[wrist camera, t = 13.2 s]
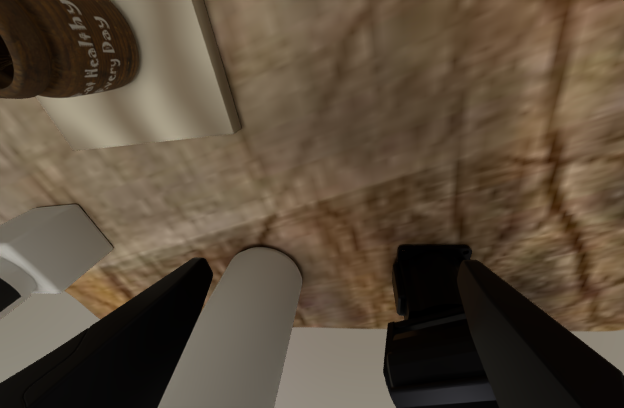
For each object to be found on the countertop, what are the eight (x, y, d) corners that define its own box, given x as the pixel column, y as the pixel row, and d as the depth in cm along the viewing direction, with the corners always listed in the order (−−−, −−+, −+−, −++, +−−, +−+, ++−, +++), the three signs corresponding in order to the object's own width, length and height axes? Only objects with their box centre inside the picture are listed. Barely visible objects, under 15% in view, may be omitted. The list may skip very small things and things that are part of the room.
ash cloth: (160, -144, 12) (139, -165, 11) (241, 128, 20) (233, 133, 19) (-48, -62, 16) (-82, -71, 14) (88, 145, 23) (73, 150, 22)
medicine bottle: (34, 206, 29) (-129, 289, 20) (78, 202, 28) (-75, 290, 18) (74, 249, 33) (-45, 337, 23) (115, 248, 32) (5, 341, 22)
